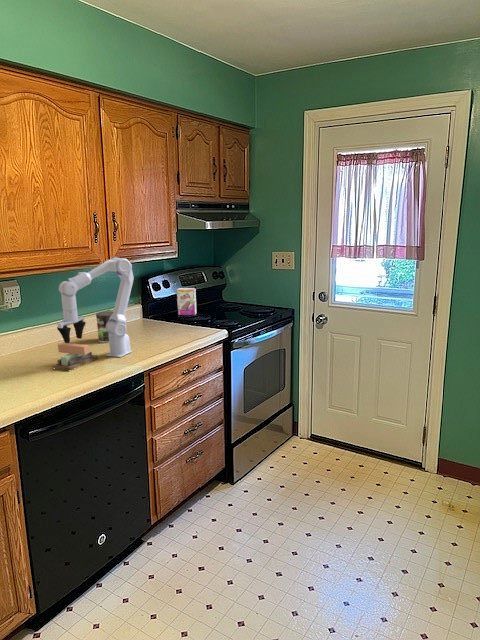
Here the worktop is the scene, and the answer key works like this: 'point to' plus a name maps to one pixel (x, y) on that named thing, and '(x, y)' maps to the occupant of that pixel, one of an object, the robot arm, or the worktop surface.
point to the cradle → (76, 362)
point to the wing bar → (73, 348)
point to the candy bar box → (186, 301)
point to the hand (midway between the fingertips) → (73, 340)
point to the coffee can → (103, 325)
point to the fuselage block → (68, 358)
